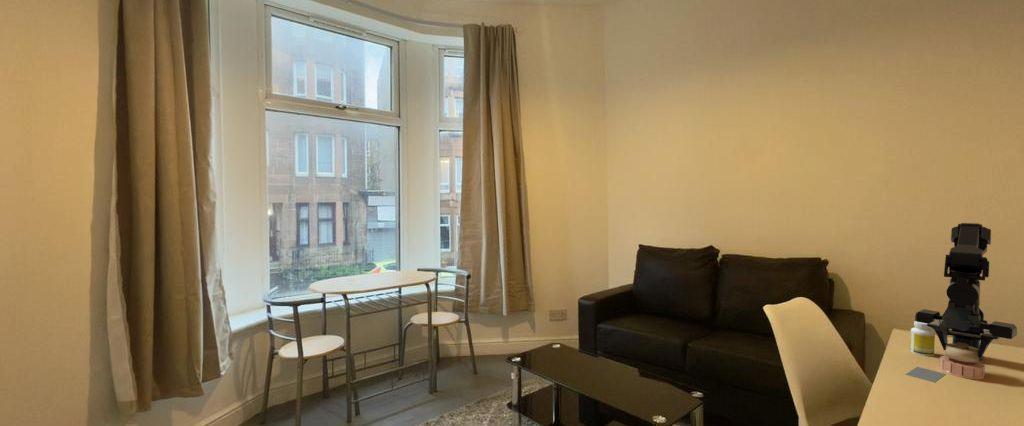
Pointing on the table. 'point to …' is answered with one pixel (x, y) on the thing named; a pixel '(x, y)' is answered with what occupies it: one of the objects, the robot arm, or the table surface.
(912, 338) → the supplement bottle
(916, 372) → the mat
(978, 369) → the pink notched ring
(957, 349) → the lid
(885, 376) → the table surface
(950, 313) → the robot arm
